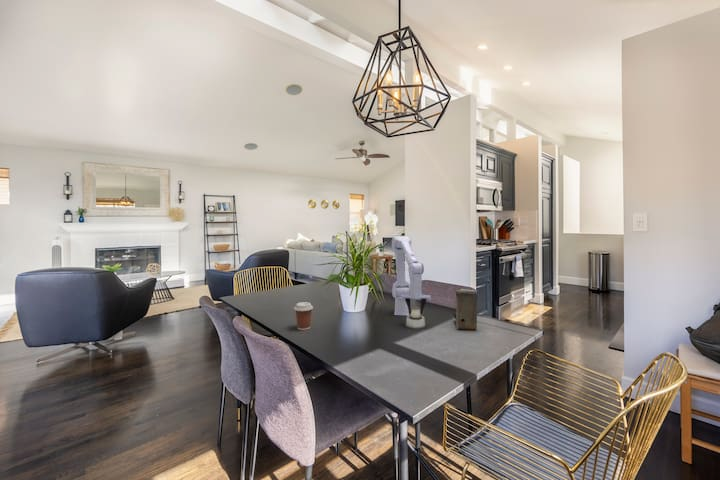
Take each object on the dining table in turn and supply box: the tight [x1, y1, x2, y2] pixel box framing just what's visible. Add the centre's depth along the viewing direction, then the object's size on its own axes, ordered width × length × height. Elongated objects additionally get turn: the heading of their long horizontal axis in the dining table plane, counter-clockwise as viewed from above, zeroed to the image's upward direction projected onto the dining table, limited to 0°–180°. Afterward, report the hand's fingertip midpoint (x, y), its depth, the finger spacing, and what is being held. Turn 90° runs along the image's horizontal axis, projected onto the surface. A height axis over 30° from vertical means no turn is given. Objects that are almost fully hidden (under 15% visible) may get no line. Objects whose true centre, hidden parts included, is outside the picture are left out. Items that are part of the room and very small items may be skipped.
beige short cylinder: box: [410, 306, 422, 318], centre depth 166 cm, size 5×5×4 cm
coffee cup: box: [293, 301, 314, 331], centre depth 163 cm, size 9×9×12 cm
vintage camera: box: [452, 288, 478, 331], centre depth 166 cm, size 10×16×20 cm, turn 174°
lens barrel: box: [405, 314, 427, 330], centre depth 166 cm, size 10×10×4 cm
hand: (415, 313), depth 166 cm, fingers closed on beige short cylinder, 5 cm apart
